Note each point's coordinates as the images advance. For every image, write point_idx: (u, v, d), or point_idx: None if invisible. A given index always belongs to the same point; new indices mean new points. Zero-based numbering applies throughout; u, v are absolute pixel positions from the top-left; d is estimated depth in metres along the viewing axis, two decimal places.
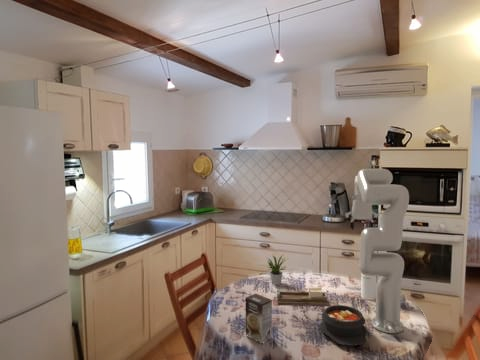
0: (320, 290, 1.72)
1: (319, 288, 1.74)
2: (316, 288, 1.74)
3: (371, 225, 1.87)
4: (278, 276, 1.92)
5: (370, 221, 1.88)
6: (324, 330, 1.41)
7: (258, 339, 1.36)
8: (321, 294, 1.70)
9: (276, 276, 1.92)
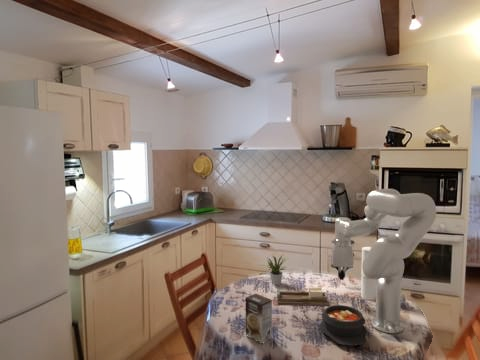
0: (320, 290, 1.72)
1: (319, 288, 1.74)
2: (316, 288, 1.74)
3: (343, 275, 1.70)
4: (278, 276, 1.92)
5: (342, 270, 1.71)
6: (324, 330, 1.41)
7: (258, 339, 1.36)
8: (321, 294, 1.70)
9: (276, 276, 1.92)
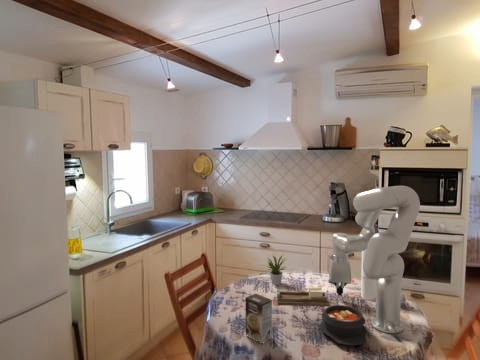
0: (320, 290, 1.72)
1: (319, 288, 1.74)
2: (316, 288, 1.74)
3: (341, 291, 1.71)
4: (278, 276, 1.92)
5: (340, 286, 1.72)
6: (324, 330, 1.41)
7: (258, 339, 1.36)
8: (321, 294, 1.70)
9: (276, 276, 1.92)
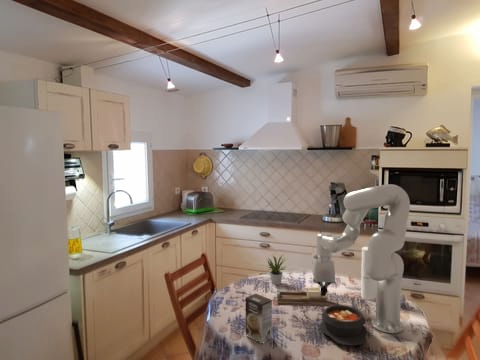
0: (318, 290, 1.72)
1: (317, 288, 1.74)
2: (314, 288, 1.74)
3: (325, 290, 1.71)
4: (278, 276, 1.92)
5: (324, 285, 1.72)
6: (324, 330, 1.41)
7: (258, 339, 1.36)
8: (319, 294, 1.70)
9: (276, 276, 1.92)
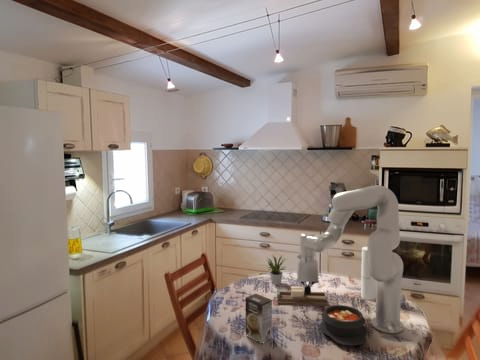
0: (302, 290, 1.72)
1: (301, 288, 1.75)
2: (298, 288, 1.75)
3: (308, 290, 1.72)
4: (278, 276, 1.92)
5: (308, 285, 1.73)
6: (324, 330, 1.41)
7: (258, 339, 1.36)
8: (302, 294, 1.71)
9: (276, 276, 1.92)
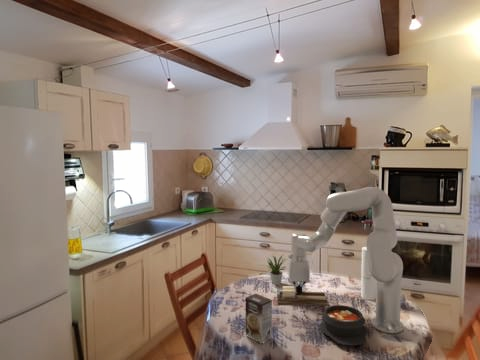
0: (293, 289, 1.73)
1: (292, 287, 1.75)
2: (289, 287, 1.75)
3: (300, 290, 1.72)
4: (278, 276, 1.92)
5: (299, 285, 1.73)
6: (324, 330, 1.41)
7: (258, 339, 1.36)
8: (294, 293, 1.71)
9: (276, 276, 1.92)
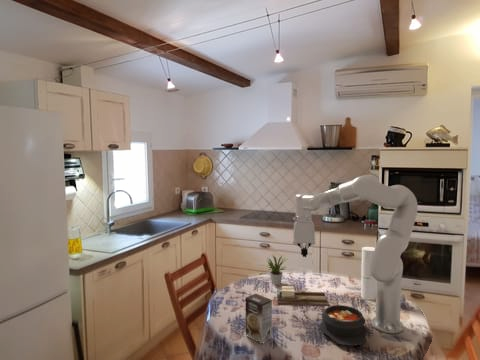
0: (292, 289, 1.73)
1: (292, 287, 1.75)
2: (289, 287, 1.75)
3: (305, 252, 1.69)
4: (278, 276, 1.92)
5: None
6: (324, 330, 1.41)
7: (258, 339, 1.36)
8: (293, 293, 1.71)
9: (276, 276, 1.92)
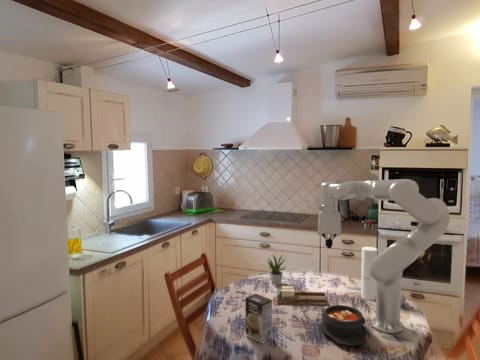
0: (292, 289, 1.73)
1: (292, 287, 1.75)
2: (289, 287, 1.75)
3: (330, 243, 1.61)
4: (278, 276, 1.92)
5: (329, 238, 1.62)
6: (324, 330, 1.41)
7: (258, 339, 1.36)
8: (293, 293, 1.71)
9: (276, 276, 1.92)
